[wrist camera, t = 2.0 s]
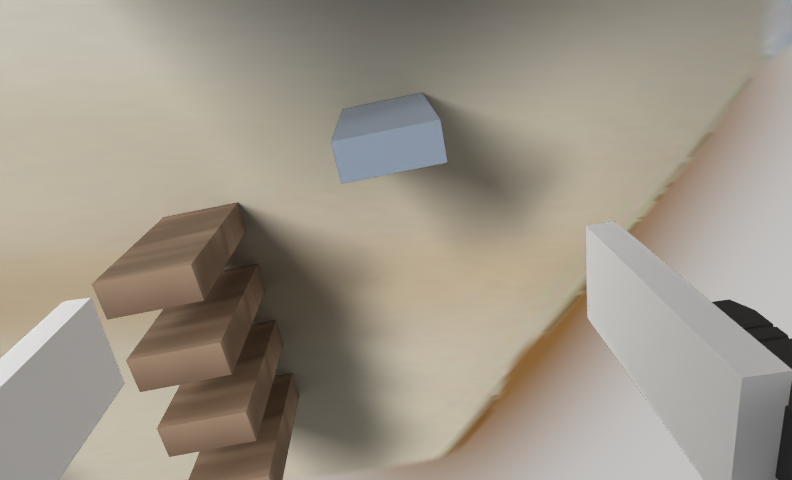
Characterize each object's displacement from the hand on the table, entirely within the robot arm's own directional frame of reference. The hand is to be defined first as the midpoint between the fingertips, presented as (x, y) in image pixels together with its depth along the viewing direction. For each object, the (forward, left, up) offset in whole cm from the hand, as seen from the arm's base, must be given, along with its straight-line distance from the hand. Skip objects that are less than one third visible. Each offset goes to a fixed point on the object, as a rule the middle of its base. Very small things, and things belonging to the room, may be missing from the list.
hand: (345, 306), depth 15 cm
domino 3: (+17, -1, -22) cm, 27 cm away
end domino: (+20, +2, -22) cm, 30 cm away
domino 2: (+13, -4, -22) cm, 26 cm away
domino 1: (+10, -6, -22) cm, 25 cm away
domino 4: (-2, +1, -22) cm, 22 cm away
